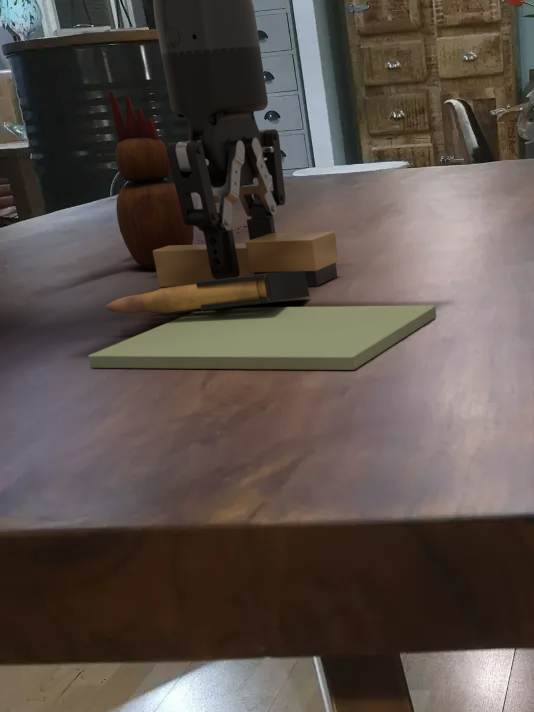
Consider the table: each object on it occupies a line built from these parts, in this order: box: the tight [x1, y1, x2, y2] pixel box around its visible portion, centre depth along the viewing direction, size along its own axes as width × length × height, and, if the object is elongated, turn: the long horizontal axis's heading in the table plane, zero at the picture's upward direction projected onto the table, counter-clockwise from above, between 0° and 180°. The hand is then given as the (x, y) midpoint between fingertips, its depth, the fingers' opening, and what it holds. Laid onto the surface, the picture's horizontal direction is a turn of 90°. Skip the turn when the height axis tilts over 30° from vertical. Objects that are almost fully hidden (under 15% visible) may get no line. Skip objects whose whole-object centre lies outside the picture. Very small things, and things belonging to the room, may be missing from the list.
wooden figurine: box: [108, 91, 195, 271], centre depth 101 cm, size 7×6×15 cm
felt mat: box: [87, 305, 437, 371], centre depth 71 cm, size 18×14×1 cm
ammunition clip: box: [105, 271, 310, 314], centre depth 79 cm, size 11×2×12 cm
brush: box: [153, 230, 339, 288], centre depth 92 cm, size 16×4×4 cm, turn 72°
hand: (247, 270), depth 92 cm, fingers open, 6 cm apart
